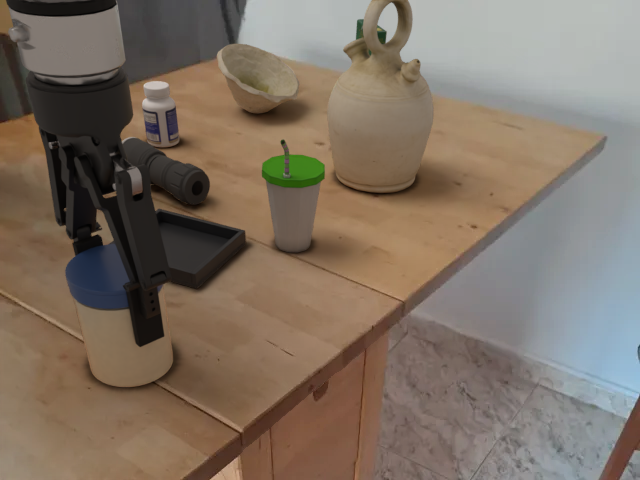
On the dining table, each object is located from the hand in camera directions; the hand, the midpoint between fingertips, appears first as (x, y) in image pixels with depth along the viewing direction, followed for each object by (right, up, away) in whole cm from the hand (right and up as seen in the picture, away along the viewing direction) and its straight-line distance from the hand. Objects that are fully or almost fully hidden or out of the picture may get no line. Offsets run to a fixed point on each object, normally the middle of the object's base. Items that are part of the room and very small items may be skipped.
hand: (124, 318), depth 67 cm
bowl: (+8, +47, +59) cm, 76 cm away
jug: (+28, +28, +39) cm, 56 cm away
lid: (0, +4, -4) cm, 5 cm away
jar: (0, -4, +4) cm, 5 cm away
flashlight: (-4, +24, +34) cm, 42 cm away
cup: (+16, +13, +23) cm, 31 cm away
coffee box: (+28, +52, +65) cm, 88 cm away
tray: (+1, +11, +20) cm, 23 cm away
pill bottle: (-7, +36, +46) cm, 59 cm away
